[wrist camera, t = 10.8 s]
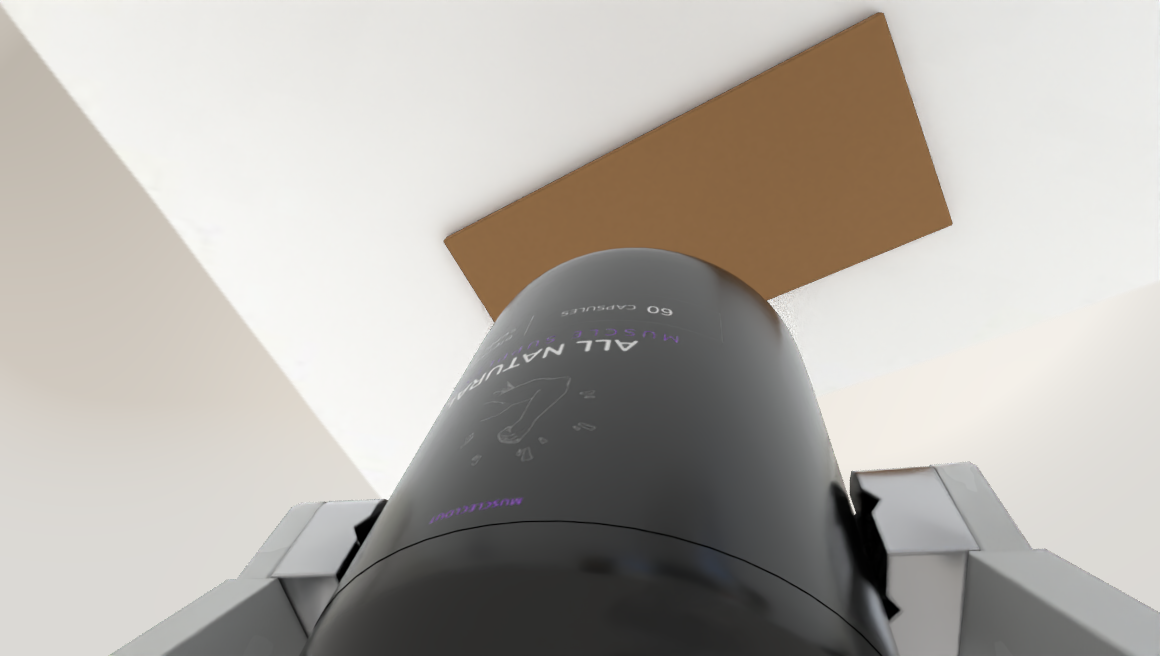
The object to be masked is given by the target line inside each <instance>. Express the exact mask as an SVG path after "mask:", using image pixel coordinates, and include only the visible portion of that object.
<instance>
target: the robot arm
mask: <svg viewBox="0 0 1160 656" xmlns="http://www.w3.org/2000/svg"><path fill="white" fill-rule="evenodd" d="M850 496H851V500H852V502H853V505H854V508H855V511H856V514H855V515H854V516H855V519H856V522H857V525H858V528H859V531H860V534H861V537H862V540H863V543H864V547H865V550H866V553H867V556H868V559H869V562H870V565H871V568H872V571H873V574H874V577H875V580H876V583H877V586H878V590H879V593H880V596H881V599H882V602H883V605H884V608H885V611H886V614H887V617H888V620H889V623H890V626H891V629H892V633H893V636H894V639H895V642H896V645H897V648H898V651H899V654H900V656H1160V613H1159V612H1158V611H1156V610H1154V609H1152V608H1151V607H1149V606H1147V605H1145V604H1143V603H1142V602H1140V601H1138V600H1136V599H1134V598H1133V597H1131V596H1129V595H1127V594H1125V593H1124V592H1122V591H1120V590H1118V589H1117V588H1115V587H1113V586H1111V585H1109V584H1108V583H1106V582H1104V581H1102V580H1100V579H1099V578H1097V577H1095V576H1093V575H1092V574H1090V573H1088V572H1086V571H1084V570H1082V569H1081V568H1079V567H1077V566H1076V565H1074V564H1072V563H1070V562H1068V561H1066V560H1065V559H1063V558H1061V557H1059V556H1058V555H1056V554H1054V553H1052V552H1050V551H1048V550H1047V549H1032V548H1031V546H1030V545H1029V543H1028V542H1027V540H1026V539H1025V537H1024V536H1023V534H1022V533H1021V531H1020V530H1019V528H1018V527H1017V525H1016V524H1015V522H1014V521H1013V519H1012V518H1011V516H1010V515H1009V513H1008V512H1007V510H1006V509H1005V507H1004V506H1003V504H1002V503H1001V501H1000V500H999V498H998V497H997V496H996V494H995V492H994V491H993V489H992V488H991V487H990V485H989V483H988V482H987V480H986V479H985V478H984V476H983V474H982V473H981V471H980V470H979V468H978V467H977V466H976V465H975V464H973V463H971V462H960V463H947V464H936V465H930V466H925V467H924V466H923V467H910V468H893V469H877V470H863V471H851V477H850ZM387 502H388V500H386V499H377V500H375V499H374V500H348V501H329V502H307V503H300V504H297V505H295V506H293V507H291V509H290V510H289V511H288V513H287V514H286V516H285V517H284V518H283V519H282V521H281V522H280V523H279V524H278V526H277V527H276V528H275V530H274V531H273V532H272V533H271V535H270V536H269V537H268V539H267V540H266V541H265V543H264V544H263V545H262V547H261V548H260V549H259V550H258V552H257V553H256V554H255V556H254V557H253V558H252V560H251V561H250V562H249V564H248V565H247V566H246V568H245V569H244V570H243V571H242V573H241V574H240V575H239V577H238V578H237V579H230V580H226V581H224V582H223V583H221V584H220V585H219V586H217V587H215V588H214V589H212V590H210V591H209V592H207V593H206V594H204V595H203V596H201V597H199V598H198V599H196V600H195V601H193V602H192V603H190V604H189V605H187V606H186V607H184V608H182V609H181V610H179V611H178V612H176V613H175V614H173V615H171V616H170V617H168V618H167V619H165V620H164V621H162V622H160V623H159V624H157V625H156V626H154V627H153V628H151V629H150V630H148V631H146V632H145V633H143V634H142V635H140V636H139V637H137V638H135V639H134V640H132V641H131V642H129V643H128V644H126V645H125V646H123V647H122V648H120V649H118V650H117V651H115V652H114V653H112V654H111V655H109V656H299V655H300V653H301V651H302V649H303V647H304V645H305V643H306V641H307V640H308V638H309V636H310V635H311V633H312V631H313V629H314V626H315V624H316V622H317V621H318V619H319V617H320V615H321V614H322V612H323V610H324V608H325V607H326V605H327V603H328V602H329V600H330V598H331V597H332V595H333V593H334V591H335V590H336V588H337V586H338V585H339V583H340V581H341V580H342V578H343V576H344V575H345V573H346V571H347V570H348V568H349V566H350V564H351V563H352V561H353V559H354V558H355V556H356V554H357V553H358V551H359V549H360V548H361V546H362V544H363V543H364V541H365V539H366V537H367V536H368V534H369V532H370V531H371V529H372V527H373V526H374V524H375V522H376V521H377V519H378V517H379V516H380V514H381V512H382V510H383V509H384V507H385V505H386V504H387Z"/></svg>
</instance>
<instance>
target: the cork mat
mask: <svg viewBox="0 0 1160 656" xmlns="http://www.w3.org/2000/svg"><path fill="white" fill-rule="evenodd" d="M950 225H952V220H951V217H950V214H949V211H948V208H947V205H946V202H945V199H944V196H943V193H942V189H941V186H940V183H939V180H938V177H937V174H936V171H935V168H934V165H933V162H932V159H931V156H930V153H929V150H928V147H927V144H926V141H925V138H924V135H923V132H922V129H921V126H920V122H919V119H918V116H917V113H916V110H915V107H914V104H913V101H912V98H911V95H910V92H909V89H908V86H907V83H906V80H905V77H904V74H903V71H902V68H901V65H900V62H899V59H898V55H897V52H896V49H895V46H894V43H893V40H892V37H891V34H890V31H889V28H888V25H887V22H886V19H885V16H884V13H880V12H879V13H876V14H874V15H872V16H870V17H868V18H866V19H865V20H863V21H861V22H859V23H857V24H855V25H853V26H851V27H849V28H847V29H845V30H843V31H842V32H840V33H838V34H836V35H834V36H832V37H830V38H828V39H826V40H824V41H822V42H820V43H818V44H817V45H815V46H813V47H811V48H809V49H807V50H805V51H803V52H801V53H799V54H797V55H795V56H794V57H792V58H790V59H788V60H786V61H784V62H782V63H780V64H778V65H776V66H774V67H772V68H770V69H769V70H767V71H765V72H763V73H761V74H759V75H757V76H755V77H753V78H751V79H749V80H747V81H745V82H744V83H742V84H740V85H738V86H736V87H734V88H732V89H730V90H728V91H726V92H724V93H722V94H721V95H719V96H717V97H715V98H713V99H711V100H709V101H707V102H705V103H703V104H701V105H699V106H697V107H696V108H694V109H692V110H690V111H688V112H686V113H684V114H682V115H680V116H678V117H676V118H674V119H673V120H671V121H669V122H667V123H665V124H663V125H661V126H659V127H657V128H655V129H653V130H651V131H649V132H648V133H646V134H644V135H642V136H640V137H638V138H636V139H634V140H632V141H630V142H628V143H626V144H625V145H623V146H621V147H619V148H617V149H615V150H613V151H611V152H609V153H607V154H605V155H603V156H601V157H600V158H598V159H596V160H594V161H592V162H590V163H588V164H586V165H584V166H582V167H580V168H578V169H576V170H575V171H573V172H571V173H569V174H567V175H565V176H563V177H561V178H559V179H557V180H555V181H553V182H552V183H550V184H548V185H546V186H544V187H542V188H540V189H538V190H536V191H534V192H532V193H530V194H528V195H527V196H525V197H523V198H521V199H519V200H517V201H515V202H513V203H511V204H509V205H507V206H505V207H504V208H502V209H500V210H498V211H496V212H494V213H492V214H490V215H488V216H486V217H484V218H482V219H480V220H479V221H477V222H475V223H473V224H471V225H469V226H467V227H465V228H463V229H461V230H459V231H457V232H456V233H454V234H452V235H450V236H448V237H447V238H446V239H445V240H444V243H445V245H446V246H447V248H448V250H449V251H450V253H451V254H452V256H453V257H454V259H455V261H456V262H457V264H458V265H459V267H460V269H461V270H462V272H463V273H464V275H465V276H466V278H467V280H468V281H469V283H470V284H471V286H472V288H473V289H474V291H475V292H476V294H477V295H478V297H479V299H480V300H481V302H482V303H483V305H484V306H485V308H486V310H487V311H488V313H489V314H490V316H491V318H492V319H493V321H494V322H495V321H496V320H497V318H498V317H499V316H500V314H501V313H502V312H503V310H504V309H505V308H506V306H507V305H508V304H509V303H510V302H511V300H512V299H513V298H514V297H515V296H516V295H517V294H518V293H519V292H520V291H521V290H522V289H523V288H525V287H526V286H527V285H528V284H529V283H531V282H532V281H533V280H534V279H536V278H537V277H539V276H540V275H542V274H543V273H545V272H546V271H548V270H550V269H552V268H554V267H556V266H558V265H560V264H562V263H564V262H567V261H569V260H571V259H574V258H577V257H580V256H583V255H587V254H590V253H593V252H598V251H603V250H608V249H617V248H635V247H645V248H656V249H664V250H670V251H675V252H680V253H684V254H687V255H691V256H694V257H697V258H700V259H702V260H705V261H707V262H710V263H712V264H714V265H716V266H718V267H720V268H722V269H724V270H726V271H728V272H730V273H731V274H733V275H735V276H736V277H738V278H739V279H741V280H742V281H744V282H745V283H746V284H748V285H749V286H750V287H752V288H753V289H754V290H755V291H757V292H758V293H759V294H760V295H761V296H762V297H763V298H764V299H765V300H766V301H767V300H769V299H772V298H774V297H777V296H779V295H781V294H784V293H786V292H789V291H791V290H794V289H796V288H799V287H801V286H804V285H806V284H808V283H811V282H813V281H816V280H818V279H821V278H823V277H826V276H828V275H830V274H833V273H835V272H838V271H840V270H843V269H845V268H848V267H850V266H853V265H855V264H857V263H860V262H862V261H865V260H867V259H870V258H872V257H875V256H877V255H879V254H882V253H884V252H887V251H889V250H892V249H894V248H897V247H899V246H901V245H904V244H906V243H909V242H911V241H914V240H916V239H919V238H921V237H924V236H926V235H928V234H931V233H933V232H936V231H938V230H941V229H943V228H946V227H948V226H950Z"/></svg>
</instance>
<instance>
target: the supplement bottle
mask: <svg viewBox="0 0 1160 656" xmlns="http://www.w3.org/2000/svg"><path fill="white" fill-rule="evenodd" d="M299 656H900V654H899V651H898V648H897V645H896V642H895V639H894V636H893V633H892V629H891V626H890V623H889V620H888V617H887V614H886V611H885V608H884V605H883V602H882V599H881V596H880V593H879V590H878V586H877V583H876V580H875V577H874V574H873V571H872V568H871V565H870V562H869V559H868V556H867V553H866V550H865V547H864V543H863V540H862V537H861V534H860V531H859V528H858V525H857V522H856V519H855V516H854V513H853V510H852V507H851V504H850V500H849V497H848V494H847V491H846V488H845V486H844V482H843V479H842V476H841V473H840V470H839V467H838V464H837V461H836V458H835V455H834V451H833V449H832V445H831V442H830V439H829V436H828V433H827V430H826V427H825V424H824V421H823V418H822V415H821V412H820V408H819V406H818V402H817V399H816V396H815V393H814V390H813V387H812V384H811V381H810V379H809V376H808V373H807V371H806V368H805V365H804V362H803V360H802V357H801V354H800V352H799V349H798V347H797V345H796V343H795V341H794V339H793V337H792V335H791V333H790V332H789V330H788V328H787V326H786V325H785V323H784V322H783V321H782V319H781V318H780V316H779V315H778V313H777V312H776V311H775V310H774V309H773V308H772V306H771V305H770V304H769V303H768V302H767V301H766V300H765V299H764V298H763V297H762V296H761V295H760V294H759V293H758V292H757V291H755V290H754V289H753V288H752V287H750V286H749V285H748V284H746V283H745V282H744V281H742V280H741V279H739V278H738V277H736V276H735V275H733V274H731V273H730V272H728V271H726V270H724V269H722V268H720V267H718V266H716V265H714V264H712V263H710V262H707V261H705V260H702V259H700V258H697V257H694V256H691V255H687V254H684V253H680V252H675V251H670V250H664V249H656V248H645V247H635V248H617V249H608V250H603V251H598V252H593V253H590V254H587V255H583V256H580V257H577V258H574V259H571V260H569V261H567V262H564V263H562V264H560V265H558V266H556V267H554V268H552V269H550V270H548V271H546V272H545V273H543V274H542V275H540V276H539V277H537V278H536V279H534V280H533V281H532V282H531V283H529V284H528V285H527V286H526V287H525V288H523V289H522V290H521V291H520V292H519V293H518V294H517V295H516V296H515V297H514V298H513V299H512V300H511V302H510V303H509V304H508V305H507V306H506V308H505V309H504V310H503V312H502V313H501V314H500V316H499V317H498V318H497V320H496V321H495V323H494V325H493V326H492V328H491V330H490V331H489V333H488V334H487V335H486V337H485V339H484V340H483V342H482V344H481V345H480V347H479V349H478V350H477V352H476V354H475V355H474V357H473V359H472V360H471V362H470V364H469V365H468V367H467V369H466V371H465V372H464V374H463V376H462V377H461V379H460V381H459V382H458V384H457V386H456V387H455V389H454V391H453V392H452V394H451V396H450V397H449V399H448V401H447V403H446V404H445V406H444V408H443V409H442V411H441V413H440V414H439V416H438V418H437V419H436V421H435V423H434V424H433V426H432V428H431V430H430V431H429V433H428V435H427V436H426V438H425V440H424V441H423V443H422V445H421V446H420V448H419V450H418V451H417V453H416V455H415V457H414V458H413V460H412V462H411V463H410V465H409V467H408V468H407V470H406V472H405V473H404V475H403V477H402V478H401V480H400V482H399V483H398V485H397V487H396V489H395V490H394V492H393V494H392V495H391V497H390V499H389V500H388V502H387V504H386V505H385V507H384V509H383V510H382V512H381V514H380V516H379V517H378V519H377V521H376V522H375V524H374V526H373V527H372V529H371V531H370V532H369V534H368V536H367V537H366V539H365V541H364V543H363V544H362V546H361V548H360V549H359V551H358V553H357V554H356V556H355V558H354V559H353V561H352V563H351V564H350V566H349V568H348V570H347V571H346V573H345V575H344V576H343V578H342V580H341V581H340V583H339V585H338V586H337V588H336V590H335V591H334V593H333V595H332V597H331V598H330V600H329V602H328V603H327V605H326V607H325V608H324V610H323V612H322V614H321V615H320V617H319V619H318V621H317V622H316V624H315V626H314V629H313V631H312V633H311V635H310V636H309V638H308V640H307V641H306V643H305V645H304V647H303V649H302V651H301V653H300V655H299Z"/></svg>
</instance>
